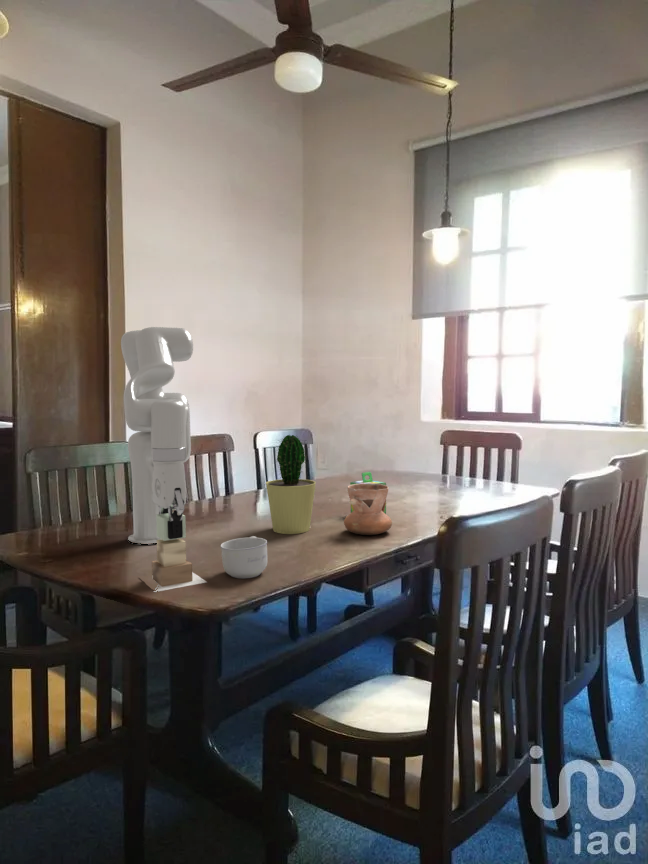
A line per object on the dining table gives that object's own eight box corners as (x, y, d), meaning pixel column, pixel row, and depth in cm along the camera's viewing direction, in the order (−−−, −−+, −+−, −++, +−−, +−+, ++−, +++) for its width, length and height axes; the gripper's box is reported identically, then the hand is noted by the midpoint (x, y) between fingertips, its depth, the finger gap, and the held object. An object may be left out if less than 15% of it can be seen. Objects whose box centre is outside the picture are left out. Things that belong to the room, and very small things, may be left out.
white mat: (137, 579, 141) (137, 577, 141) (187, 570, 148) (187, 569, 147) (154, 593, 131) (154, 591, 131) (207, 583, 137) (207, 582, 137)
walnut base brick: (152, 578, 140) (151, 561, 140) (181, 573, 144) (181, 556, 144) (162, 586, 134) (161, 568, 134) (192, 581, 138) (192, 563, 138)
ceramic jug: (372, 541, 175) (372, 492, 174) (331, 534, 184) (331, 487, 183) (405, 530, 189) (405, 484, 188) (366, 523, 198) (366, 480, 197)
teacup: (254, 584, 137) (253, 549, 136) (212, 579, 141) (211, 545, 140) (281, 567, 150) (280, 535, 149) (242, 563, 154) (241, 531, 153)
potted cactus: (255, 530, 189) (254, 433, 187) (290, 522, 200) (289, 430, 198) (291, 538, 179) (291, 435, 177) (326, 529, 190) (325, 432, 188)
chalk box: (368, 519, 204) (368, 475, 203) (349, 515, 211) (349, 472, 210) (387, 515, 210) (387, 472, 209) (368, 511, 217) (368, 469, 216)
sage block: (156, 536, 139) (156, 514, 139) (178, 533, 142) (177, 511, 142) (164, 540, 135) (163, 518, 135) (185, 537, 138) (185, 515, 137)
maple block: (157, 561, 140) (156, 540, 139) (178, 558, 142) (177, 537, 142) (164, 566, 136) (164, 544, 135) (186, 563, 138) (185, 541, 138)
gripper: (141, 453, 142) (143, 530, 144) (165, 460, 128) (167, 546, 129) (172, 451, 146) (174, 526, 148) (199, 458, 132) (201, 541, 133)
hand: (171, 534), depth 139 cm, fingers closed on sage block, 4 cm apart
